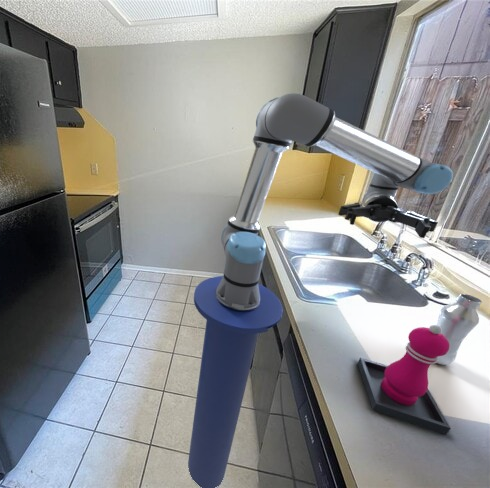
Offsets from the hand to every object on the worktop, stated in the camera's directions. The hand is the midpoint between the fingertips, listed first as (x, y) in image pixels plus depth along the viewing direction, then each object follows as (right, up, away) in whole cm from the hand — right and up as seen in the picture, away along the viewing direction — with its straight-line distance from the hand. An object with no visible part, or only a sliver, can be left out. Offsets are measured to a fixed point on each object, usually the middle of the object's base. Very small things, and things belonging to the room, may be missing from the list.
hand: (387, 225), depth 62 cm
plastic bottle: (+21, -36, +9) cm, 43 cm away
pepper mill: (+1, -39, -2) cm, 40 cm away
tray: (+1, -40, -1) cm, 40 cm away
